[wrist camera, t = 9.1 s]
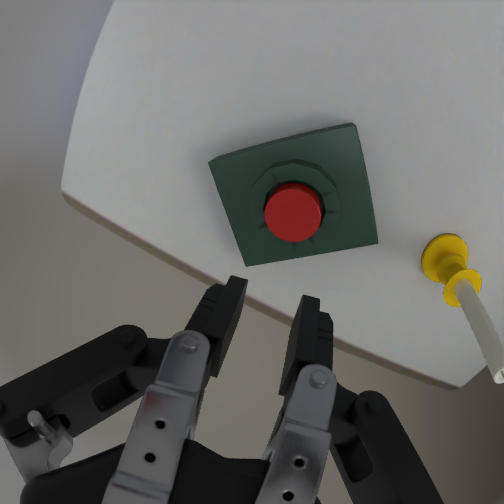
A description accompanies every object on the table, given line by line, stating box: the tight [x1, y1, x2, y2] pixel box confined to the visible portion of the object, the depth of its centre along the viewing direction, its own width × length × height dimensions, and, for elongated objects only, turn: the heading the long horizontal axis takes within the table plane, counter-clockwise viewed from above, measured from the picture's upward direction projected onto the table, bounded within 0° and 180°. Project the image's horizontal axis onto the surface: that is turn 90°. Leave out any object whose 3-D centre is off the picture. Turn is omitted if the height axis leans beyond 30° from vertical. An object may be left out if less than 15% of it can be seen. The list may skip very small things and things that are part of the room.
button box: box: [208, 123, 378, 267], centre depth 24 cm, size 12×10×4 cm
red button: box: [265, 183, 321, 242], centre depth 22 cm, size 4×4×2 cm
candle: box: [422, 234, 504, 383], centre depth 18 cm, size 5×5×16 cm
